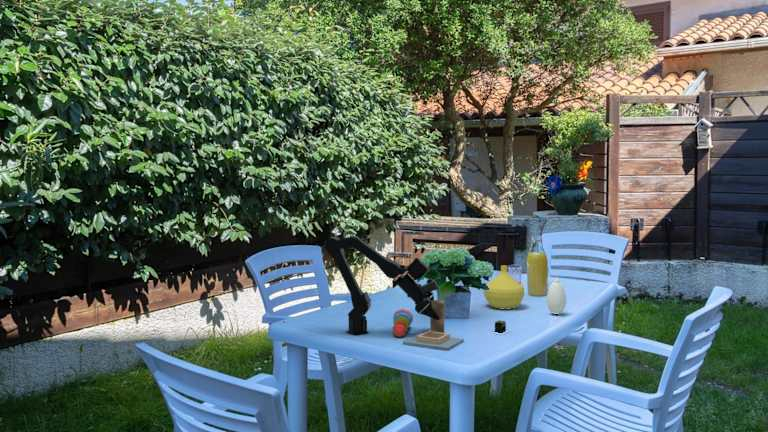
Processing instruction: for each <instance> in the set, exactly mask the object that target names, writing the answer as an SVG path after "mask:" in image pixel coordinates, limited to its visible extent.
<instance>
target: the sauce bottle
mask: <svg viewBox="0 0 768 432" xmlns="http://www.w3.org/2000/svg"><path fill="white" fill-rule="evenodd" d="M555 276H556V278H555V279H554V280H553V282H552V283H551V284H550V286H549V288H548V292H547V295H546V296H547V297H546V304H547V305H546V306H547V308H548V311H549V312H550V313H552V312H554V313H563V312H564V310H565V309H566V306H567V295H566V292H565V289H564V286H563V284H562V283H561V281H560V279H558V274H557V273H556V274H555Z"/></svg>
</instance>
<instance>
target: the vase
mask: <svg viewBox="0 0 768 432" xmlns="http://www.w3.org/2000/svg"><path fill="white" fill-rule="evenodd" d="M485 285H487V286H488V288H489V290H484V289H483V295H484V297H485V299H486V302H487V303H488V304H489V305H490V306H491V307H492V308H493V307H495V308H494V309H496V308H513V309H515V308H517V307H518V306H519V305H521V302H522V301H523V299H524V296H525V287H524V285H523V284H521V283H520V282H518V280H516V279H515V278H513V276H511V275H510V273H509V272H508V265H503V264H502V265H500V272H499V274H498V275H497V276H496V277H493V279H491V280H490V281H489V282H488V283H485ZM514 307H515V308H514Z"/></svg>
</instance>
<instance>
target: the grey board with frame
mask: <svg viewBox="0 0 768 432" xmlns="http://www.w3.org/2000/svg"><path fill="white" fill-rule="evenodd" d="M464 342H465V339H464V338H460V337H459V338H458V337H457V338H456V337H451V335H450V333H446V332H444V333H440V332H432V331H430V330H427V331H425V332H422V333H421V332H420V333H418V334H415V335H414V336H412V337H410V338H408V339H405V340H404V341H402V345H403V346H412V347H418V348H419V347H420V348H425V347H426V348H427V349H434V350H439V349H440V351H450V350H452V349H454V348H455V347H457V346H459V345H461V344H462V343H464Z"/></svg>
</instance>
